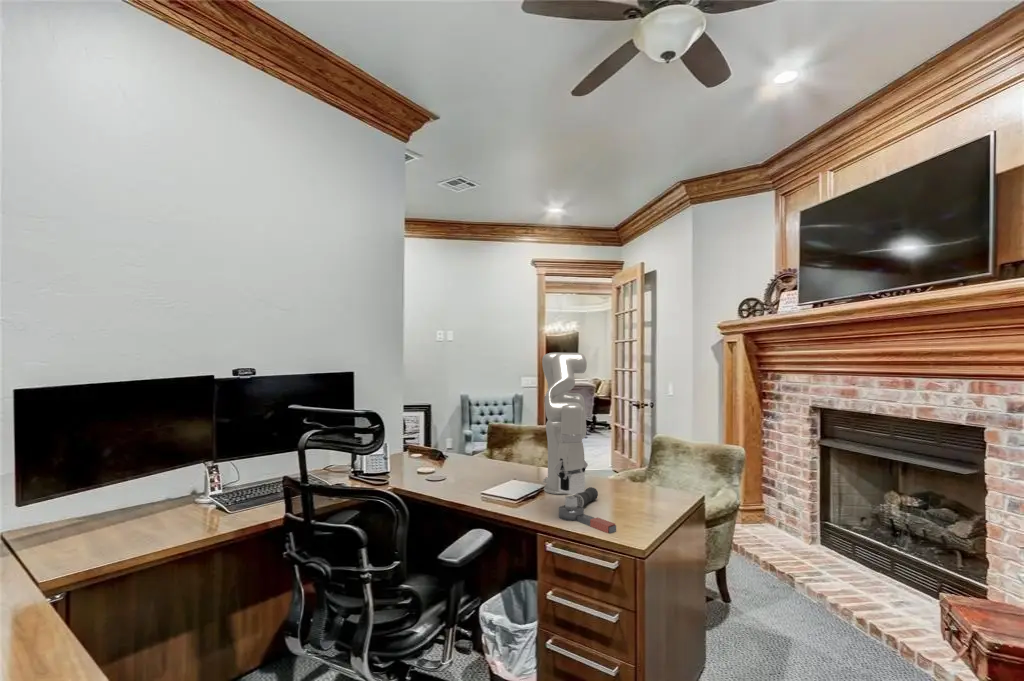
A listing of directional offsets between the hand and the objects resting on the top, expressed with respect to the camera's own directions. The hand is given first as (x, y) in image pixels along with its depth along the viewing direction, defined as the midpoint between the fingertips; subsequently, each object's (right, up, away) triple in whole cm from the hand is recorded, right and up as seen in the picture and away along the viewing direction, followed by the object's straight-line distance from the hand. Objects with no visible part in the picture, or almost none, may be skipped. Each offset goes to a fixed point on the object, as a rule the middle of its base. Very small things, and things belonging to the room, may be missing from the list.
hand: (571, 487), depth 176 cm
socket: (0, -1, 0) cm, 1 cm away
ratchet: (+4, -10, -6) cm, 13 cm away
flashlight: (+7, -11, +16) cm, 21 cm away
